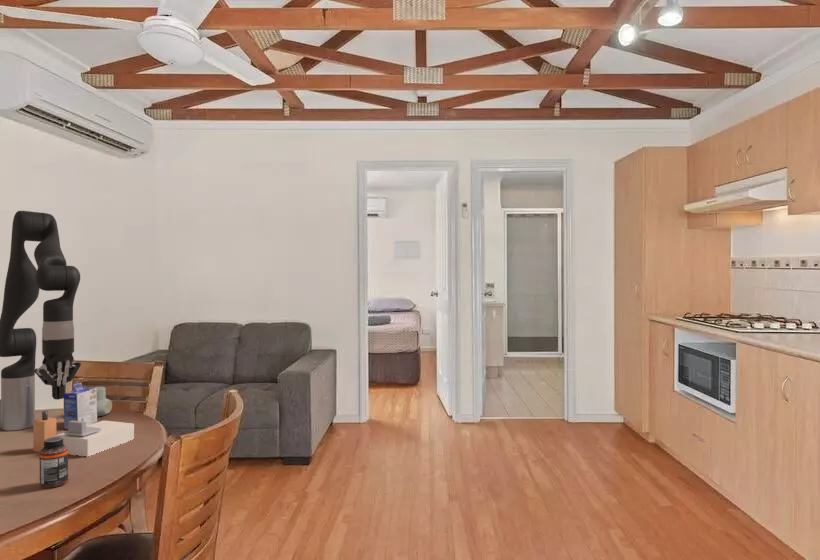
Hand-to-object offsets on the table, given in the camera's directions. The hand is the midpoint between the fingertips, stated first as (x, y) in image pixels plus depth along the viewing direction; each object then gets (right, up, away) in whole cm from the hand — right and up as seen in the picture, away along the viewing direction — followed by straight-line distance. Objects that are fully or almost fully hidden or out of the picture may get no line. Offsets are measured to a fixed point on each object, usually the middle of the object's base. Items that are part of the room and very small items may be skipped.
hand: (58, 398), depth 152 cm
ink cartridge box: (-14, -17, +34) cm, 40 cm away
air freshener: (-16, -17, +47) cm, 52 cm away
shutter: (+2, -12, +8) cm, 14 cm away
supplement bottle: (+10, -18, -17) cm, 27 cm away
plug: (-9, -17, +8) cm, 21 cm away
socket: (+3, -17, +12) cm, 21 cm away
